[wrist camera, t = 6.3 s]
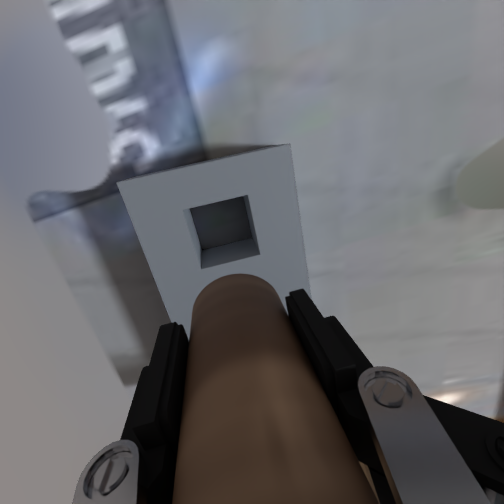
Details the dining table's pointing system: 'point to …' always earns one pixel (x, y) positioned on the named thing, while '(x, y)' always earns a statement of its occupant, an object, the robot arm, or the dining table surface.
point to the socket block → (226, 256)
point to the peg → (258, 409)
